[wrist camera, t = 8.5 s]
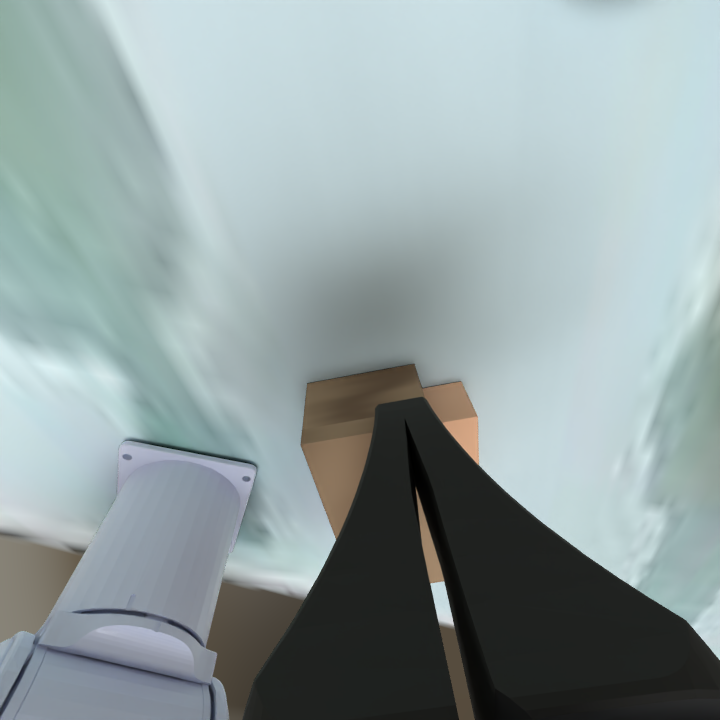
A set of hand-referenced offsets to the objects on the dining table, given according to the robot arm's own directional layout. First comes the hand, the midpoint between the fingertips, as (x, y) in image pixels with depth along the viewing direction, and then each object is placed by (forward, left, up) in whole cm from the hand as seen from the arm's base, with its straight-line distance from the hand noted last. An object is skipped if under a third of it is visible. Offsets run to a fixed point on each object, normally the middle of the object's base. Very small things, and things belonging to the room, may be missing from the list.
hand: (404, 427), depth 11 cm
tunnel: (-10, -4, -9) cm, 15 cm away
